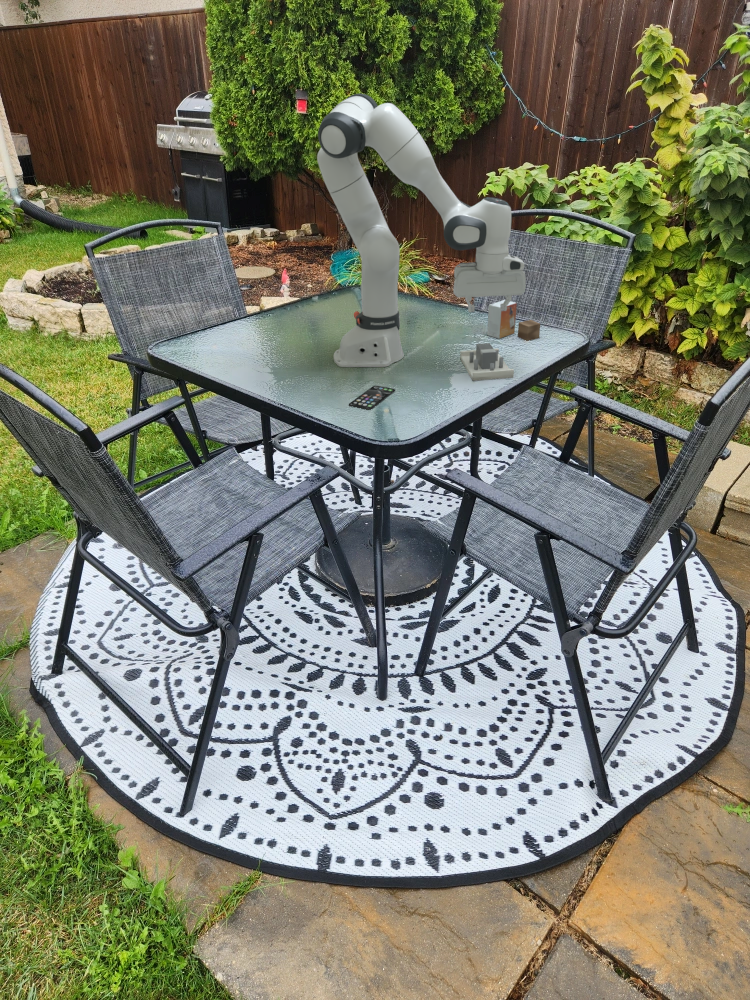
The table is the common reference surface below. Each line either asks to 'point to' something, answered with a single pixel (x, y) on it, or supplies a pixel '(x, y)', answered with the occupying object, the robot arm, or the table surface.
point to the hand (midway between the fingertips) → (487, 311)
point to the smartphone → (372, 397)
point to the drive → (485, 355)
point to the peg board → (485, 374)
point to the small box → (501, 320)
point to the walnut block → (528, 330)
